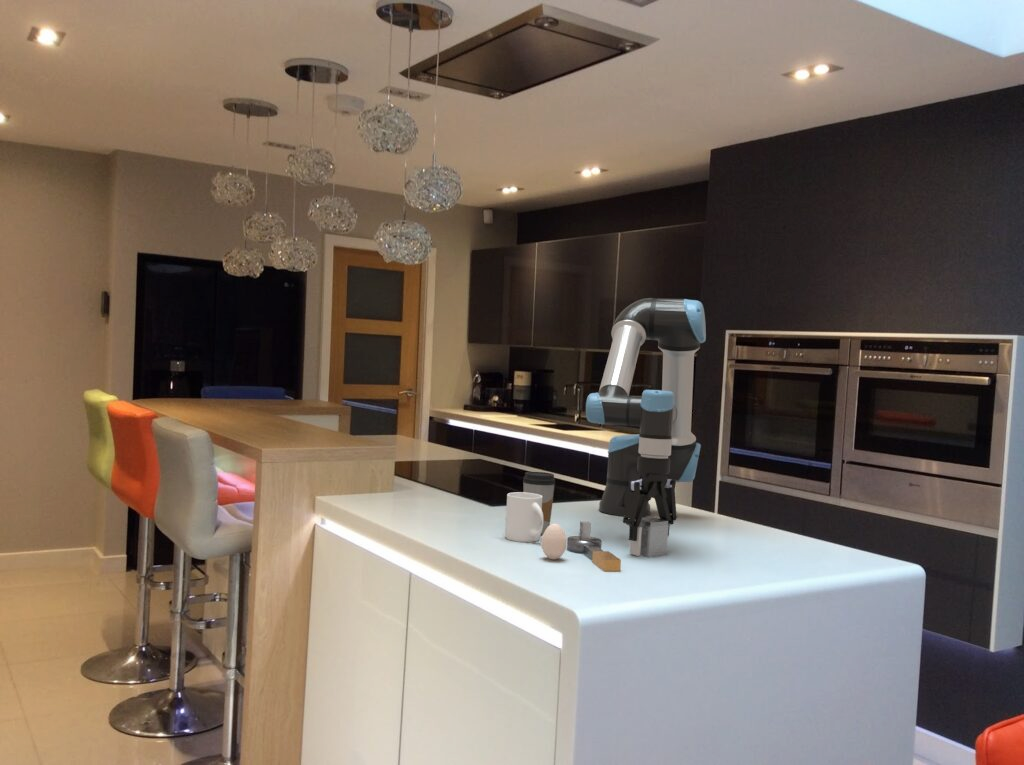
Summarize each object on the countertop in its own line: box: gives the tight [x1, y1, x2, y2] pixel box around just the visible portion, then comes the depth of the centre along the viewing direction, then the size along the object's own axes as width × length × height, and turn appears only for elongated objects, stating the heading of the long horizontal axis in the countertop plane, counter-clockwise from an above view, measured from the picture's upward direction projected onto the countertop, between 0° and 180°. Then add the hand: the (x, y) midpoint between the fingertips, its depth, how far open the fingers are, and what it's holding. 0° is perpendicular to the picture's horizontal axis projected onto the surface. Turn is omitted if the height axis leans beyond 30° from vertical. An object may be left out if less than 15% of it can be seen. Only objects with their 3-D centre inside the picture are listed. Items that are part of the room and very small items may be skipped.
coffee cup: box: [522, 471, 556, 536], centre depth 216 cm, size 8×8×15 cm
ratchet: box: [566, 520, 622, 572], centre depth 191 cm, size 8×24×6 cm, turn 13°
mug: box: [504, 491, 544, 543], centre depth 206 cm, size 9×12×11 cm
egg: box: [541, 523, 567, 560], centre depth 188 cm, size 6×6×8 cm
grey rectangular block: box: [635, 515, 668, 558], centre depth 199 cm, size 6×6×8 cm
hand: (648, 552), depth 199 cm, fingers open, 8 cm apart
